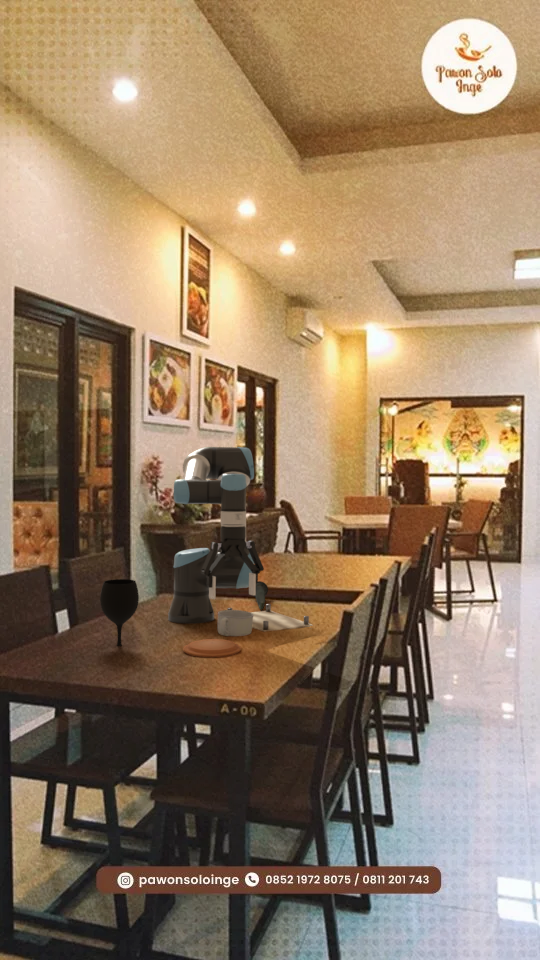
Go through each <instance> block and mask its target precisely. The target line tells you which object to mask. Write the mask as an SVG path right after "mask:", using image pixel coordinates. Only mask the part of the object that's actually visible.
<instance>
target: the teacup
mask: <svg viewBox="0 0 540 960" xmlns="http://www.w3.org/2000/svg"><path fill="white" fill-rule="evenodd" d="M253 616H254V615H253V614H252V613H250V612H249V611H246V610H240V609H232V610H227V609H223V610H219V611H218V612H217V625H216V626H217V632H218V634H219V635H221V636H225V637H242V636H243V637H244V636H249V635H250V634H252V630H253V628H252V624H253Z"/></svg>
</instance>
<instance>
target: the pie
mask: <svg viewBox="0 0 540 960" xmlns="http://www.w3.org/2000/svg"><path fill="white" fill-rule="evenodd" d="M182 649H183V650H182V651H183V652H184V653H185V655H189V656H192V657H199V658H223V657H229V656H235V655H237V654H239V653H240V651H241V649H242V647H241V646H240V645H239V644H238V643H235V642H234V641H232V640H228V639H220V638H208V639H206V638H204V639H197V640H193V641H191V642H189V643H188V644H186V645H183V647H182Z"/></svg>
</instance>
